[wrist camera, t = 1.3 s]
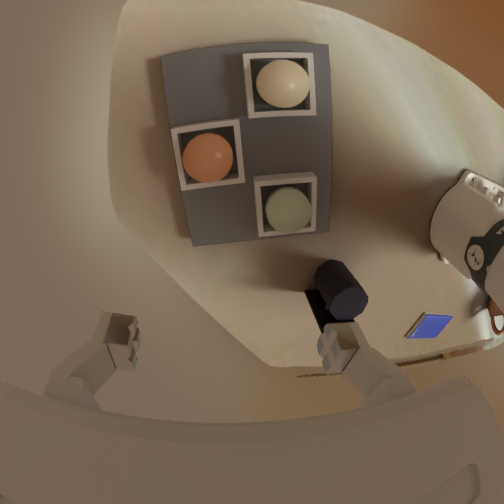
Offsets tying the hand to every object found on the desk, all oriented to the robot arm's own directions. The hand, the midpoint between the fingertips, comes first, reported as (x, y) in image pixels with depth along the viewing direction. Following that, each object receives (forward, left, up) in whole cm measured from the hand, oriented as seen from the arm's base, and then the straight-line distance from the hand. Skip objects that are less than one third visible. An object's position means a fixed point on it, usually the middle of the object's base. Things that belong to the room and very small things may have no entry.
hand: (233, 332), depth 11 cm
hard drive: (-44, +41, -26) cm, 65 cm away
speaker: (-13, +19, -25) cm, 34 cm away
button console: (-3, -2, -25) cm, 25 cm away
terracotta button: (+2, -2, -21) cm, 21 cm away
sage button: (-6, +5, -21) cm, 23 cm away
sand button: (-6, -9, -21) cm, 24 cm away
